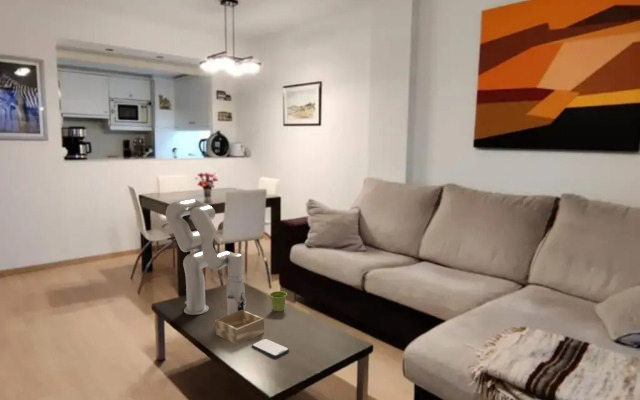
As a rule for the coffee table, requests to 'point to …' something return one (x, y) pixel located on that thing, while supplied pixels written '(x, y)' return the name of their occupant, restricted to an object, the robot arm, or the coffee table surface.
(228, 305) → the mug
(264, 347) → the smartphone
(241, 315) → the open wooden crate
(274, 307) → the plant pot
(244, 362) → the coffee table surface
